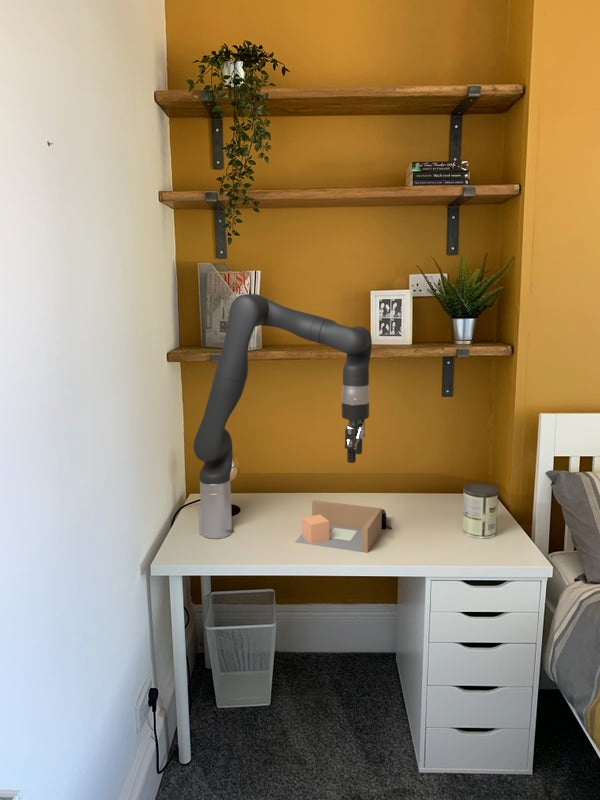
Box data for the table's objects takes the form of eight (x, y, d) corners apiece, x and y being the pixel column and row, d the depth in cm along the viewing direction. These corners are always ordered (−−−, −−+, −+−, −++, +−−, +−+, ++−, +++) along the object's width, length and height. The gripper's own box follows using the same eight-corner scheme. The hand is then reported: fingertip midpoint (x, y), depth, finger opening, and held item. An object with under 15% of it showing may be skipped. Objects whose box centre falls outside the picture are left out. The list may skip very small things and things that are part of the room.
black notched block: (366, 518, 204) (366, 504, 204) (388, 517, 205) (388, 504, 204) (373, 533, 192) (373, 519, 191) (396, 532, 193) (396, 518, 192)
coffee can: (468, 523, 198) (470, 480, 195) (500, 530, 192) (503, 486, 189) (456, 534, 189) (458, 490, 187) (490, 541, 184) (492, 496, 181)
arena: (294, 545, 183) (294, 519, 181) (314, 523, 199) (313, 500, 197) (367, 556, 175) (367, 529, 174) (381, 533, 191) (381, 508, 189)
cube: (310, 544, 181) (310, 524, 180) (302, 536, 187) (302, 517, 185) (329, 540, 184) (329, 521, 183) (320, 532, 189) (320, 514, 188)
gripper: (347, 395, 177) (347, 450, 180) (335, 405, 163) (335, 464, 167) (374, 396, 174) (373, 452, 178) (363, 406, 161) (362, 466, 164)
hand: (354, 458), depth 172 cm, fingers open, 8 cm apart
